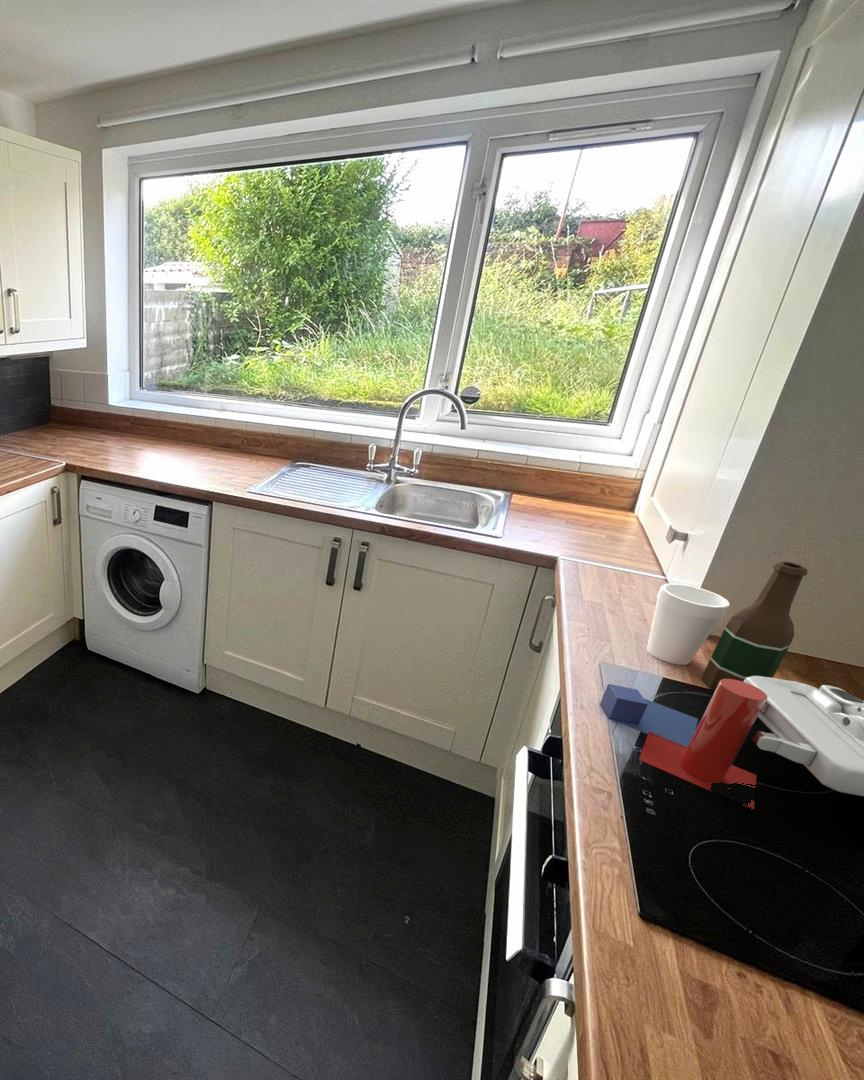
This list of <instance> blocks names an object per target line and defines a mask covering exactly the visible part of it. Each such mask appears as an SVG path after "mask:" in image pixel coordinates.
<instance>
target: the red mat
mask: <svg viewBox="0 0 864 1080" xmlns="http://www.w3.org/2000/svg"><path fill="white" fill-rule="evenodd" d="M650 733H651V735H650ZM653 734H654V733H652V732H649V734H646V738H645V741H644V744H643V747H642V749H641V752H640V756H639V758H638V760H639V761H641V762H643V763H645V764H647V765H649V766H652V767H654V768H656V769H659V770H661V771H664V772H666V773H668V774H670V775H673V776H674V777H677V778H680V779H682V780H683V781H686V782H689V783H691V784H693V785H696V786H698V787H699V788H702V789H705V790H707V791H709V790H710V789H711V786H712V785H711V784H712V783H711V782H707V781H704V780H701V779H699V778H697V777H695V776H693V775H691V774H690V773H688V772H687V771H686V770H685V769H683V767H682V766H681V764H680V761H681V759H682V757H683V755H684V753H685V751H686V749H687V747H685V746H684V745H681V744H679V743H676V742H674V741H672V742H671V740H669V739H667V740H668V741H667V740H665V738H664V737H661V736H659V735H657V734H654V735H655V736H654V735H653ZM657 736H658V737H657ZM674 744H676V745H674ZM677 744H679V745H677ZM680 745H681V746H680ZM722 782H723V783H726V784H733V783H737V782H738V783H737V784H742V783H744V784H742V785H746V784H752V785H756V787H755V786H751V785H746V786H749V787H753V788H757V774H755V773H752V772H750V771H748V770H746V769H743V768H740V767H738V766H735V765H733V764H732V765H731V767H730V769H729V771H728V772H727V774H726V776H725V778H724V780H723V781H722ZM727 788H728V787H727ZM728 789H731V788H728ZM709 792H712V791H711V790H710V791H709ZM755 802H756V801H755ZM755 802H754V801H753V800H751V803H748V806H747V805H745V804H743V805H742V806H744V805H745V806H744V807H746V806H747V807H746V808H748V807H749V809H750V807H751V810H753V809H754V810H755Z"/></svg>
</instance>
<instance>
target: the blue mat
mask: <svg viewBox="0 0 864 1080" xmlns="http://www.w3.org/2000/svg"><path fill="white" fill-rule="evenodd" d="M644 699H645V701H646V702H647V704H648V705H647V707H646V710H645V712H644V714H643V716H642V719H641V721H640V723H639V725H637V724H632V723H627V722H623V721H618V720H613V719H610V720H612V721H614V722H617V723H619V724H621V725H624V726H626V727H628V728H631V729H634V730H636V731H637V732H638V731H639V732H641V733H643V734H645V735H648V734H649V732H652V733H654V734H657V735H659V736H661V737H664V738H665V740H667V739H669V740H671V742H672V741H674V742H676V743H679V744H681V745H684V746H685V747H688V745H689V743H690V741H691V739H692V737H693V735H694V733H695V730H696V728H697V726H698V724H699V718H697V717H695V716H691V715H689V714H686V713H684V712H682V711H679V710H676V709H673V708H670V707H668V706H665V705H664V704H663V705H662V704H660V703H658V702H655V701H652V700H649V699H647V698H644ZM654 734H653V735H654ZM650 735H651V733H650ZM654 736H655V735H654ZM657 737H658V736H657ZM667 741H668V740H667ZM679 744H677V745H679ZM674 745H676V744H674ZM681 745H680V746H681Z"/></svg>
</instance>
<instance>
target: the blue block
mask: <svg viewBox="0 0 864 1080" xmlns="http://www.w3.org/2000/svg"><path fill="white" fill-rule="evenodd" d="M645 699H646V698H645V697H643V696H642V694H641V692H640V690H638V689H636V688H631V687H626V686H621V685H617V684H611V683H608V684H607V685H606V688H605V690H604V693H603V694H602V698H601V700H600V703H599V705H600V706H601V708H602V710H603V712H604V713H605V714H606V716H607V719H609V720H611V719H613V720H612V721H614V720H618V721H623V722H627V723H632V724H637V725H639V723H640V721H641V719H642V716H643V714H644V712H645V710H646V707H647V705H648V704H647V702H646V701H645Z"/></svg>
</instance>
